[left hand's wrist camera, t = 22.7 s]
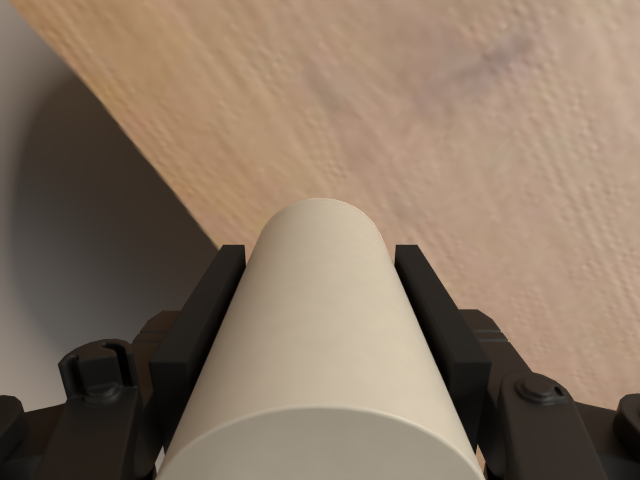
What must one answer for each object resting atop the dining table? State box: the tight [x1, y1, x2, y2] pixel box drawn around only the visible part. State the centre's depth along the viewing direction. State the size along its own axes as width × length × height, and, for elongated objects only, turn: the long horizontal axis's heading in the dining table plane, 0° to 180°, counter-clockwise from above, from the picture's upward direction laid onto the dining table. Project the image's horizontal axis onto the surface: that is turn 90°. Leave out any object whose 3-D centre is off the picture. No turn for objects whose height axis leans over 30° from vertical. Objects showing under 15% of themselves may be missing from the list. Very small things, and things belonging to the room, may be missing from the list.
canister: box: [155, 198, 485, 480], centre depth 11 cm, size 5×5×11 cm
